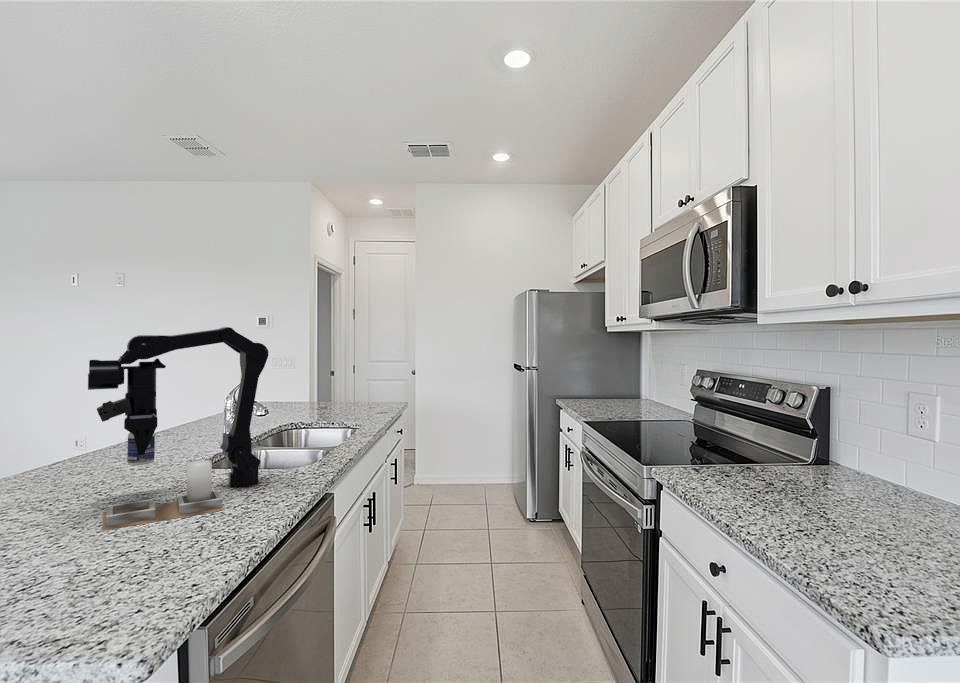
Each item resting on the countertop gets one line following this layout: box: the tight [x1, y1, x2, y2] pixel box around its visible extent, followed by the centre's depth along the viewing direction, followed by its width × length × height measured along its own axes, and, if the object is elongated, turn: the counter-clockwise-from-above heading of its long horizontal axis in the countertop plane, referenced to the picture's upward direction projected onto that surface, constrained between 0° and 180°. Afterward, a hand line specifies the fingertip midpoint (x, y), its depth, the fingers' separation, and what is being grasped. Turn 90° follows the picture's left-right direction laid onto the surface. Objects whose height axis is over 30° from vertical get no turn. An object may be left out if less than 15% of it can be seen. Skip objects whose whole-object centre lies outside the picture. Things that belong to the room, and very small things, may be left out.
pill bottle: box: [126, 432, 156, 466], centre depth 120 cm, size 5×5×10 cm
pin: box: [186, 459, 213, 503], centre depth 117 cm, size 5×5×10 cm
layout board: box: [100, 489, 223, 532], centre depth 113 cm, size 22×13×4 cm, turn 125°
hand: (141, 452), depth 120 cm, fingers closed on pill bottle, 5 cm apart
